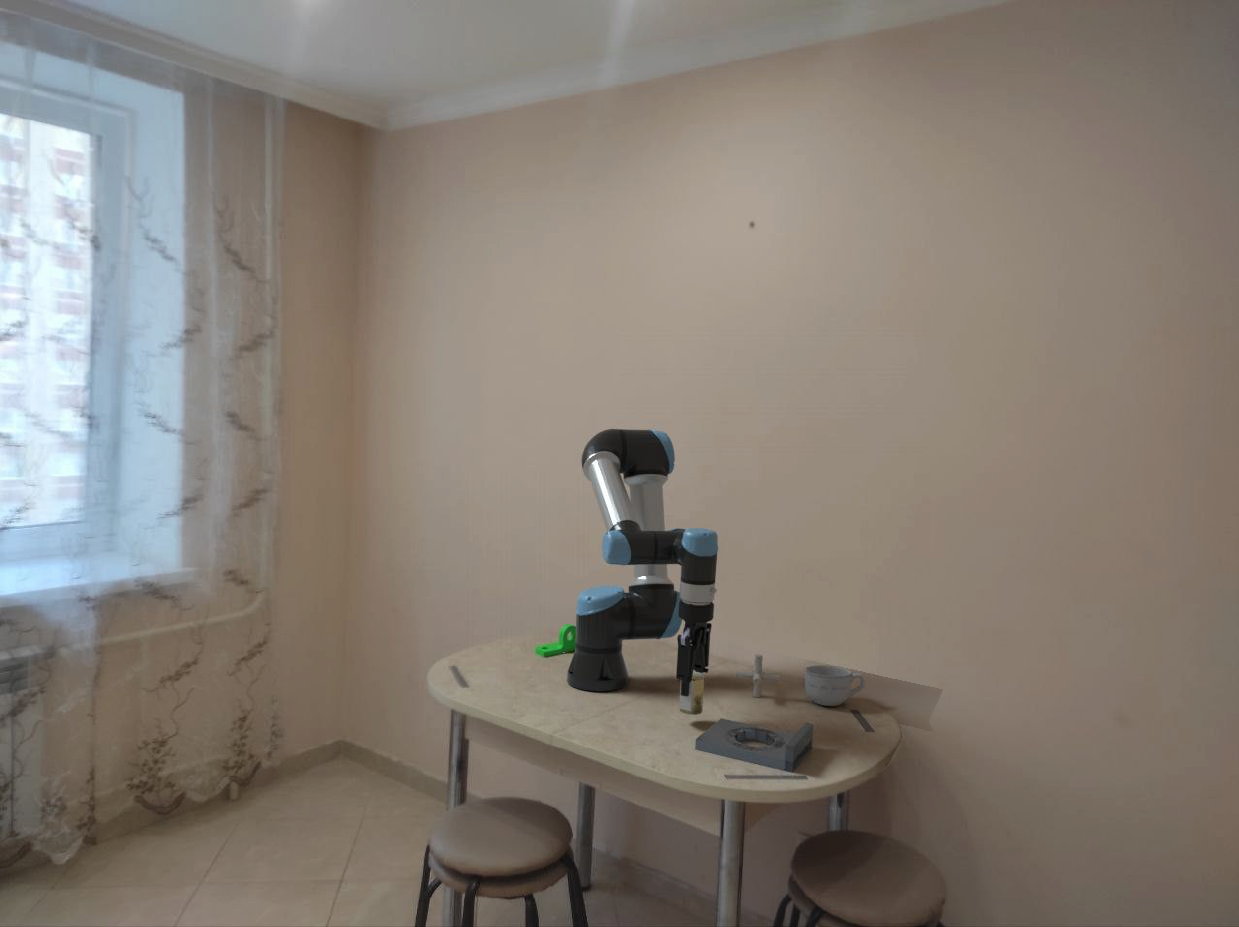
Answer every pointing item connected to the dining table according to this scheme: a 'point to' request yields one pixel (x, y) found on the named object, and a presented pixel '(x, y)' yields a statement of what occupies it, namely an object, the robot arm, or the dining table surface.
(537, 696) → the dining table surface
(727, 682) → the dining table surface
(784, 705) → the dining table surface
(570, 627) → the mechanical part
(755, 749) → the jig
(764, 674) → the pipe connector
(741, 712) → the dining table surface
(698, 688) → the gold round-ended peg
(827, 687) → the teacup
